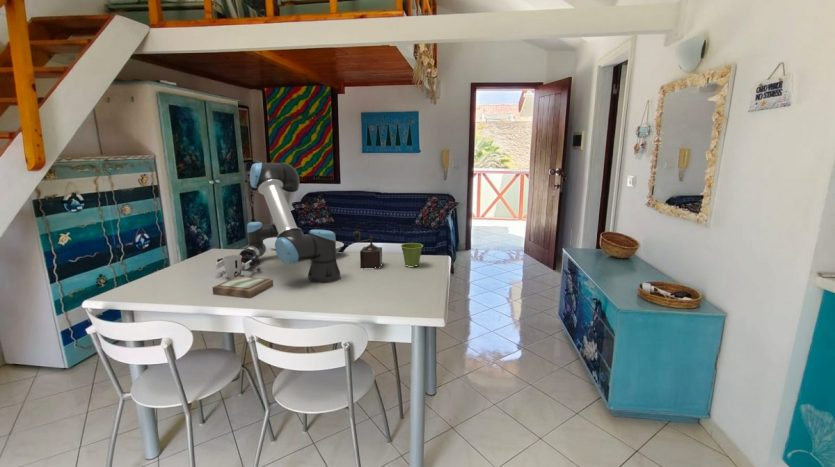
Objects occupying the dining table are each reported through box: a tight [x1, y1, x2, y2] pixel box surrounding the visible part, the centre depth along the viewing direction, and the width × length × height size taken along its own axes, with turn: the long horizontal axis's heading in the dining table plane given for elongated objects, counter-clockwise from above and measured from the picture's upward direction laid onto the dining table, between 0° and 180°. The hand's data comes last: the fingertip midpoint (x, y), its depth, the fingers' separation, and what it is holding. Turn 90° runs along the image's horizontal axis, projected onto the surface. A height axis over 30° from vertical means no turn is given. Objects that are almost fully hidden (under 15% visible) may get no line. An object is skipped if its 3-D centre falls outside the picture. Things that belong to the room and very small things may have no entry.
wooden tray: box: [211, 275, 274, 299], centre depth 171 cm, size 18×16×3 cm
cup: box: [222, 254, 243, 280], centre depth 188 cm, size 8×8×10 cm
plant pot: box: [400, 242, 424, 266], centre depth 209 cm, size 12×12×11 cm
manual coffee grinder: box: [352, 230, 383, 269], centre depth 208 cm, size 16×11×18 cm
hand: (231, 266), depth 186 cm, fingers open, 13 cm apart
